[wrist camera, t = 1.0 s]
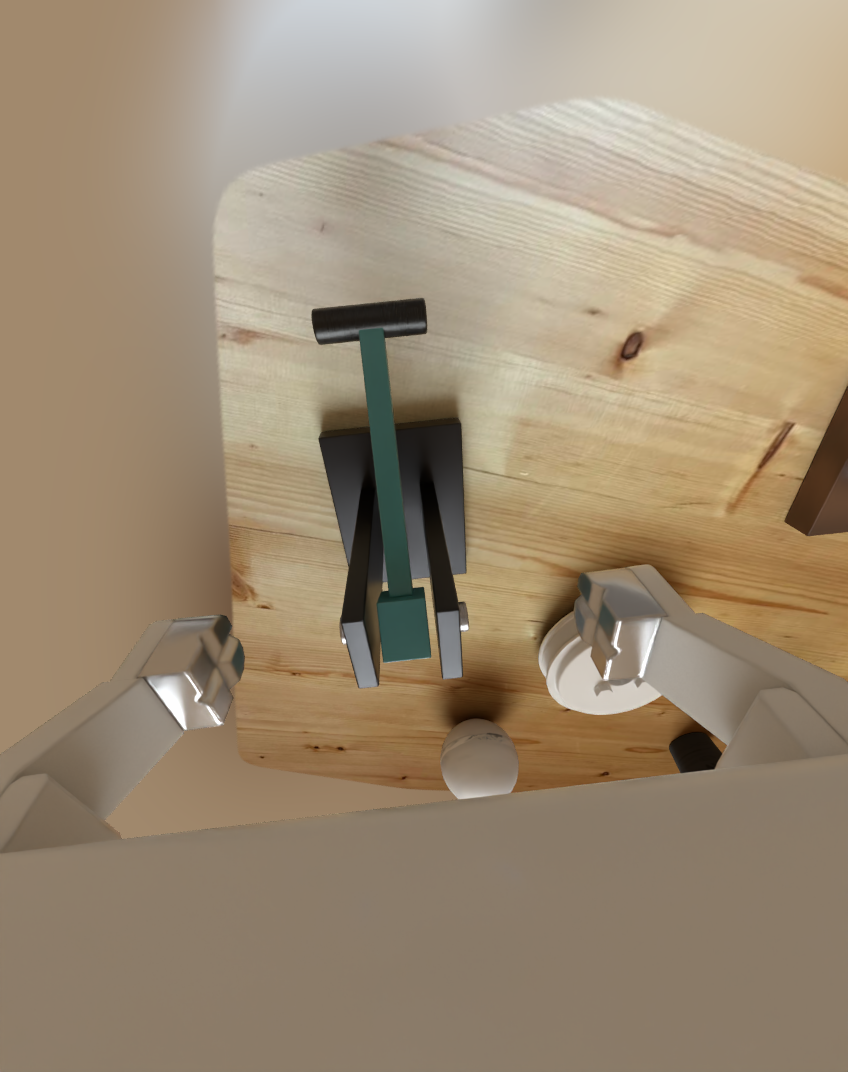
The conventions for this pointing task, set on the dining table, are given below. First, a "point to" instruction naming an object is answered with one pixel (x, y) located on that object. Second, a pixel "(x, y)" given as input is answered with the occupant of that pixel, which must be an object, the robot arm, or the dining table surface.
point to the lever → (385, 461)
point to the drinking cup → (695, 753)
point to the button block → (825, 483)
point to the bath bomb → (479, 760)
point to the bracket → (429, 525)
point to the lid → (585, 675)
